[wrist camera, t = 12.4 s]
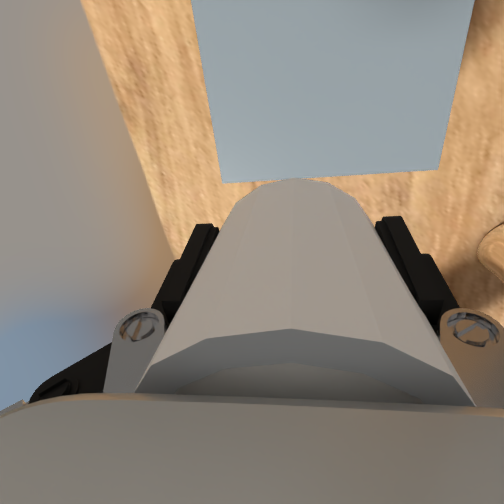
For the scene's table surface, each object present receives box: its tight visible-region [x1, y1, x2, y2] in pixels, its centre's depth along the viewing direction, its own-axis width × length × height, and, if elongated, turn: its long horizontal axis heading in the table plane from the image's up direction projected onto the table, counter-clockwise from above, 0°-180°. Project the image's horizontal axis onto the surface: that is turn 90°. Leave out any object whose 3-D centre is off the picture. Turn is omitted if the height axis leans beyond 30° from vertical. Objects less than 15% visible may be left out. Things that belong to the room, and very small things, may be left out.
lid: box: [191, 0, 475, 183], centre depth 18 cm, size 14×14×1 cm
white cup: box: [134, 178, 477, 407], centre depth 10 cm, size 7×7×7 cm
